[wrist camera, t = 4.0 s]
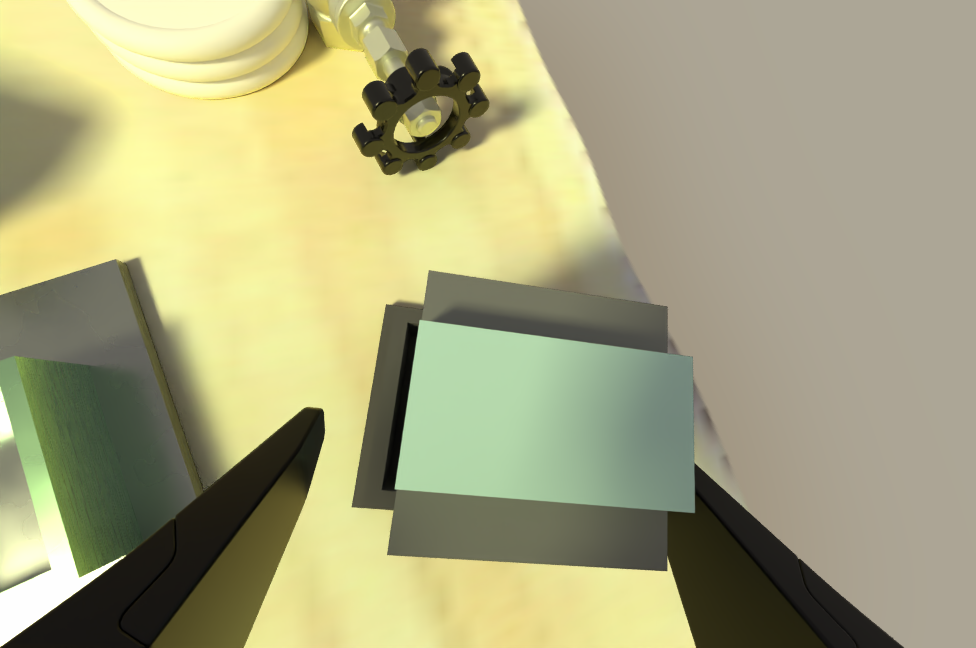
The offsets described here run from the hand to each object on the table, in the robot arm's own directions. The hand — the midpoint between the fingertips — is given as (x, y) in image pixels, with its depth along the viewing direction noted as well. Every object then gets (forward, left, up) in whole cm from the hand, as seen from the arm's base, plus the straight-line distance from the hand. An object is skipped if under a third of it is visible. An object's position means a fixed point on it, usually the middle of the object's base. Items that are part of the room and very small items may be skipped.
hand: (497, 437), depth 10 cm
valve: (+19, +1, -9) cm, 21 cm away
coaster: (+24, +9, -9) cm, 27 cm away
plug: (+1, 0, -8) cm, 8 cm away
